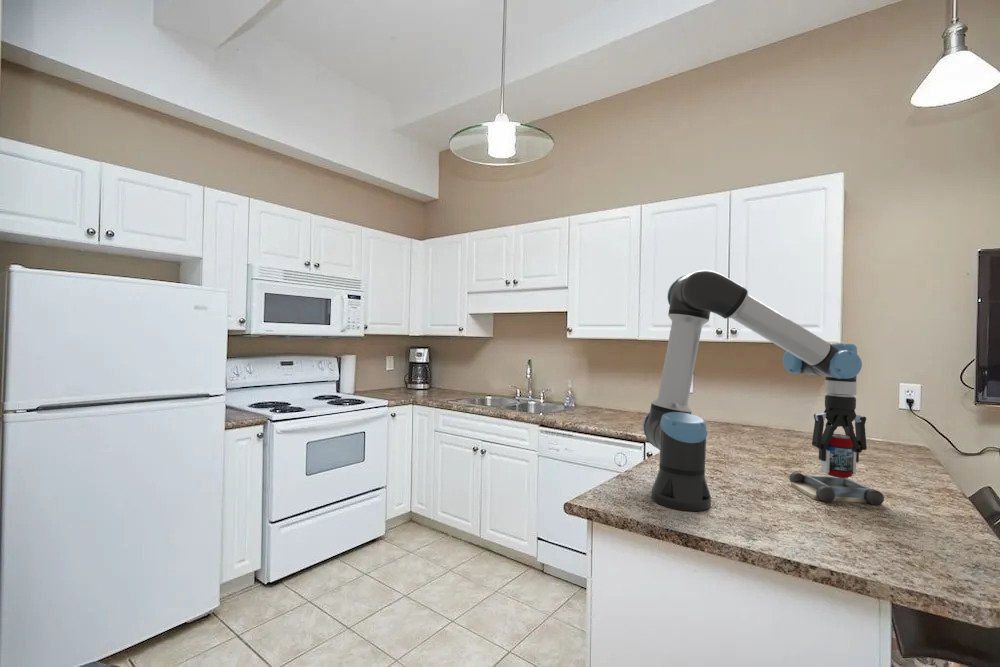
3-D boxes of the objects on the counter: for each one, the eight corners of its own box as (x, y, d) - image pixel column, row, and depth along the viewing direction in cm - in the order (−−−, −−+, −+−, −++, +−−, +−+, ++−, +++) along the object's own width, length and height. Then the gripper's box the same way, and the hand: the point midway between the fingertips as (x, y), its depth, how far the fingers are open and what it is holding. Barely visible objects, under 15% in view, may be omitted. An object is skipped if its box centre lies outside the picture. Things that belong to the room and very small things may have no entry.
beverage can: (827, 477, 137) (828, 436, 137) (821, 471, 143) (822, 432, 144) (855, 480, 135) (856, 438, 135) (848, 474, 141) (849, 434, 141)
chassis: (818, 501, 132) (818, 487, 132) (787, 484, 148) (787, 471, 148) (885, 505, 130) (886, 491, 130) (847, 487, 146) (847, 474, 146)
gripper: (866, 394, 142) (864, 470, 142) (798, 392, 144) (796, 467, 144) (884, 398, 135) (882, 478, 135) (813, 395, 136) (811, 474, 136)
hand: (838, 472), depth 139 cm, fingers closed on beverage can, 7 cm apart
